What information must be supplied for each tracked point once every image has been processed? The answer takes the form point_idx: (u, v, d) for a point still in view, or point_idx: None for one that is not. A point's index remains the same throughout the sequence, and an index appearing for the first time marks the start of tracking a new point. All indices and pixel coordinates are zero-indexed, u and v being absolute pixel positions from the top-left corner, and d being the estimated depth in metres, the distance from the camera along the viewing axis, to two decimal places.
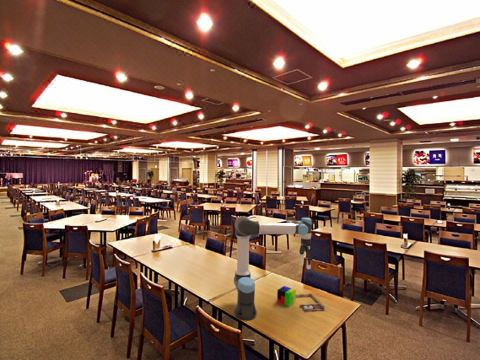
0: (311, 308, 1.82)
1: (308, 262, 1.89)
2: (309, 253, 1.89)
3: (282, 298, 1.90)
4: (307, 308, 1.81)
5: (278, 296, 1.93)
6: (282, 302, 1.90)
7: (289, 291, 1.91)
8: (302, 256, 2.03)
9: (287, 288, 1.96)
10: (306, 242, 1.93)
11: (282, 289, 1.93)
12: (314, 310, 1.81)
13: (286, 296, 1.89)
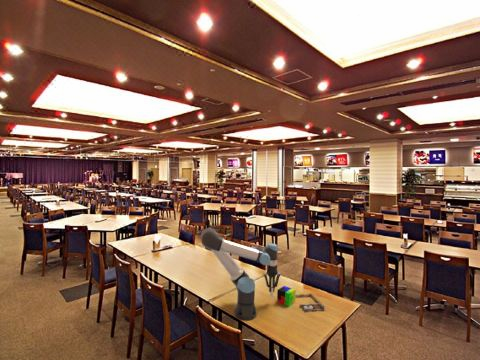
0: (311, 308, 1.82)
1: None
2: None
3: (282, 298, 1.90)
4: (307, 308, 1.81)
5: (278, 296, 1.93)
6: (282, 302, 1.90)
7: (289, 291, 1.91)
8: None
9: (287, 288, 1.96)
10: None
11: (282, 289, 1.93)
12: (314, 310, 1.81)
13: (286, 296, 1.89)
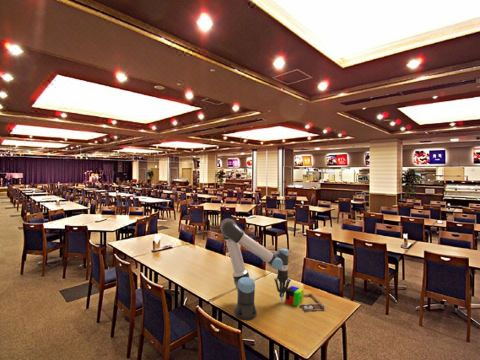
0: (311, 308, 1.82)
1: None
2: (276, 285, 1.92)
3: (291, 298, 1.91)
4: (307, 308, 1.81)
5: (286, 296, 1.93)
6: (291, 302, 1.91)
7: (297, 291, 1.92)
8: None
9: (295, 288, 1.97)
10: None
11: (290, 289, 1.94)
12: (314, 310, 1.81)
13: (294, 296, 1.89)
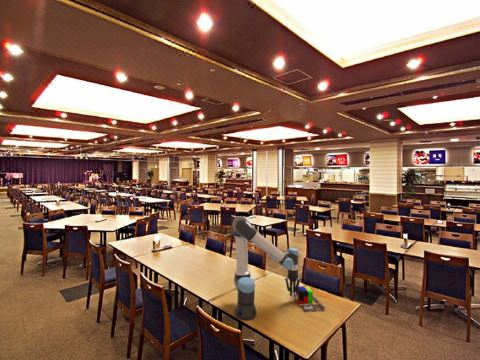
0: (311, 308, 1.82)
1: None
2: (286, 284, 1.94)
3: (305, 298, 1.91)
4: (307, 308, 1.81)
5: (300, 298, 1.91)
6: (305, 302, 1.91)
7: (308, 290, 1.95)
8: None
9: (303, 288, 1.98)
10: None
11: (302, 290, 1.93)
12: (314, 310, 1.81)
13: (309, 296, 1.91)
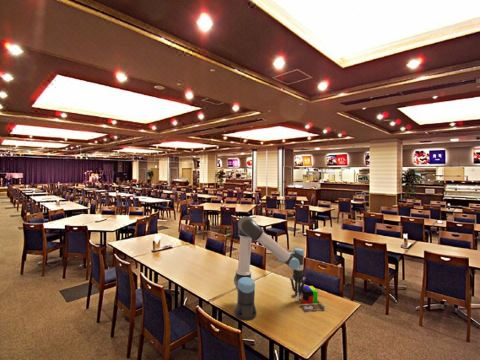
0: (311, 308, 1.82)
1: None
2: None
3: (310, 298, 1.92)
4: (307, 308, 1.81)
5: (305, 298, 1.91)
6: (310, 302, 1.92)
7: (313, 289, 1.96)
8: None
9: (307, 287, 1.99)
10: None
11: (307, 290, 1.94)
12: (314, 310, 1.81)
13: (314, 295, 1.92)
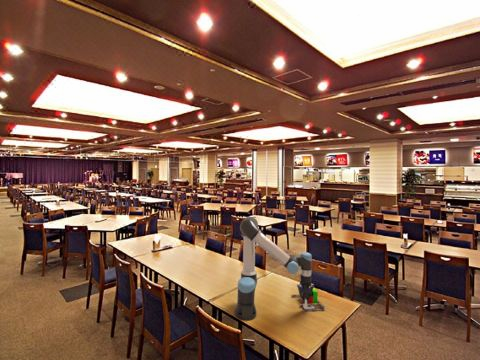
0: (313, 308, 1.82)
1: None
2: (299, 291, 1.82)
3: (310, 298, 1.91)
4: (309, 308, 1.82)
5: None
6: (310, 302, 1.92)
7: (313, 289, 1.96)
8: None
9: None
10: None
11: None
12: (314, 310, 1.81)
13: (314, 295, 1.92)
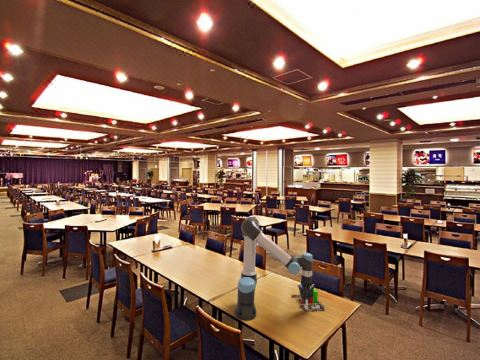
0: (318, 308, 1.83)
1: None
2: None
3: None
4: (314, 308, 1.82)
5: None
6: (310, 302, 1.92)
7: None
8: None
9: None
10: None
11: None
12: (314, 310, 1.81)
13: (314, 295, 1.92)
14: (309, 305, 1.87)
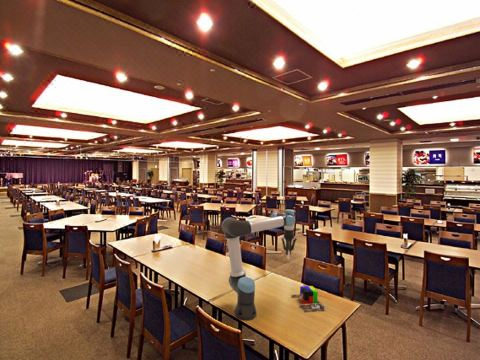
0: (318, 308, 1.83)
1: None
2: None
3: (310, 298, 1.91)
4: (314, 308, 1.82)
5: (305, 298, 1.91)
6: (310, 302, 1.92)
7: (313, 289, 1.96)
8: None
9: (307, 287, 1.99)
10: None
11: (307, 290, 1.94)
12: (314, 310, 1.81)
13: (314, 295, 1.92)
14: (309, 305, 1.87)
